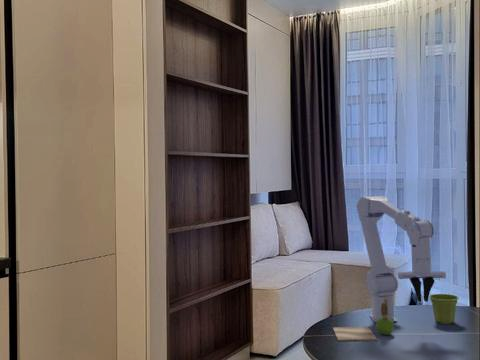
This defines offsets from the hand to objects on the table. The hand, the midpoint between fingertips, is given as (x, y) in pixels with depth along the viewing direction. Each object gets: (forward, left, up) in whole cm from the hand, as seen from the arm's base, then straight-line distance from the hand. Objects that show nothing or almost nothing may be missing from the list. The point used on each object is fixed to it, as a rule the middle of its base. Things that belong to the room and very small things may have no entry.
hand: (422, 301), depth 165 cm
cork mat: (0, -22, -10) cm, 24 cm away
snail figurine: (0, -12, -11) cm, 16 cm away
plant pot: (-14, +11, -11) cm, 21 cm away
